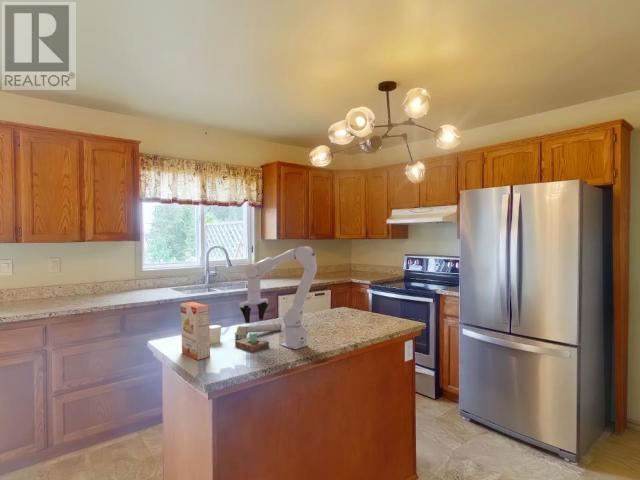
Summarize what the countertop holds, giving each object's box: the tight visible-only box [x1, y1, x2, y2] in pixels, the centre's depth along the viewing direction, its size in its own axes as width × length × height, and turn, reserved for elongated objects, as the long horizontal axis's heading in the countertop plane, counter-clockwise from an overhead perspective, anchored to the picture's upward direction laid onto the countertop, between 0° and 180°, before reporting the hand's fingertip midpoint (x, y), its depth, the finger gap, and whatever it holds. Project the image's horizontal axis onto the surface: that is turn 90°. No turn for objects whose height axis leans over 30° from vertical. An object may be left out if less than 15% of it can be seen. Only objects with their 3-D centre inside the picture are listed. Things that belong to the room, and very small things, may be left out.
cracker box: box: [180, 301, 211, 361], centre depth 150 cm, size 14×6×21 cm, turn 45°
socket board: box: [234, 336, 270, 353], centre depth 161 cm, size 12×9×2 cm
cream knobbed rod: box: [234, 322, 282, 340], centre depth 181 cm, size 5×7×25 cm
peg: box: [248, 332, 258, 344], centre depth 160 cm, size 3×3×6 cm
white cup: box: [209, 324, 222, 344], centre depth 170 cm, size 7×7×7 cm
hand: (254, 321), depth 167 cm, fingers open, 7 cm apart
